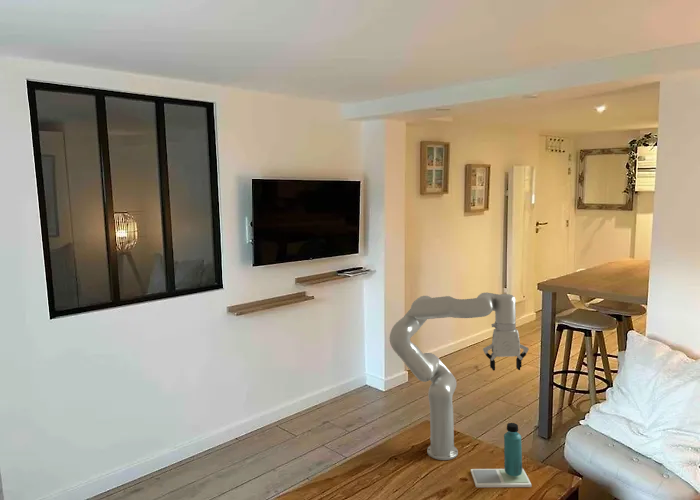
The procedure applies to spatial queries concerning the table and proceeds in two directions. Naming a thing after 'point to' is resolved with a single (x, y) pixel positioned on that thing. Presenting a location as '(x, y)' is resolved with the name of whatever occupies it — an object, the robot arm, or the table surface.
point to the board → (499, 478)
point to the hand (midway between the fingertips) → (505, 369)
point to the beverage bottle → (512, 450)
